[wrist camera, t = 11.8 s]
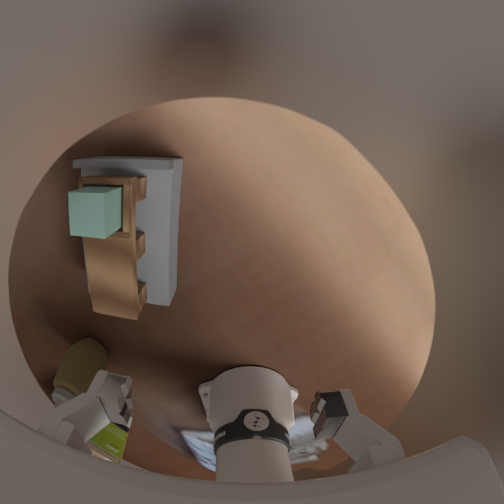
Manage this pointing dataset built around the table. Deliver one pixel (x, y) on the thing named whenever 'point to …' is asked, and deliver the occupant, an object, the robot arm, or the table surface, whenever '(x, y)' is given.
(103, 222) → the mint green cube
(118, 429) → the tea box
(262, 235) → the table surface
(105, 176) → the pallet
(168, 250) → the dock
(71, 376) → the squeeze bottle
